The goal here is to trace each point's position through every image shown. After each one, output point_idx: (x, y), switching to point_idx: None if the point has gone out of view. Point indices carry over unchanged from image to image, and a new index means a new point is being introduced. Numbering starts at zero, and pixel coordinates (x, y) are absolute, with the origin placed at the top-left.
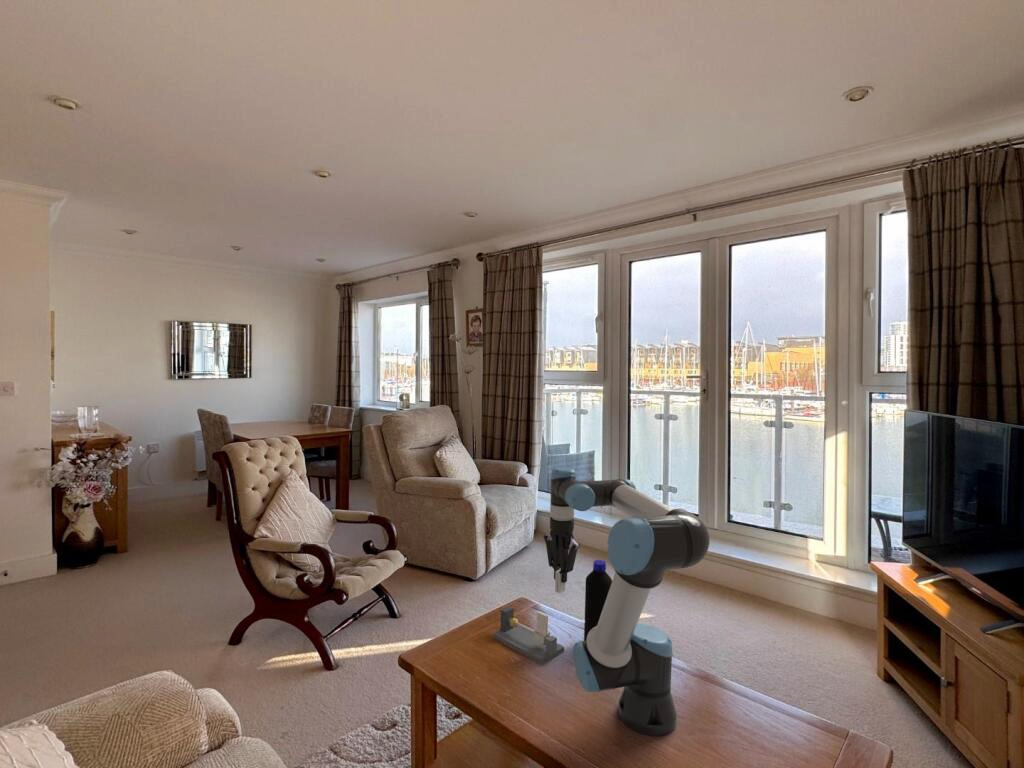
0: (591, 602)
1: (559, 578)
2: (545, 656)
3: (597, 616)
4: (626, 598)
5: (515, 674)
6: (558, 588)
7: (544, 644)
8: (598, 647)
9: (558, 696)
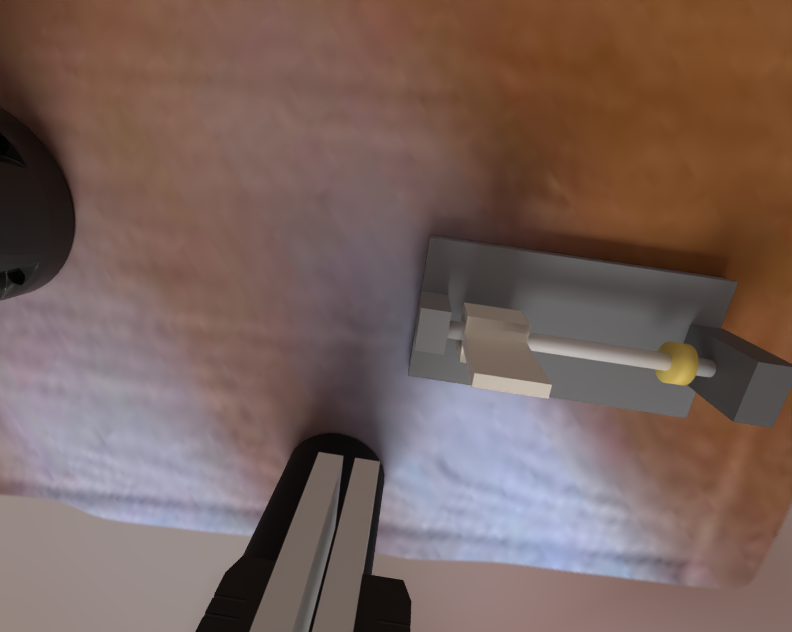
0: None
1: (275, 591)
2: (433, 270)
3: (270, 537)
4: None
5: (486, 100)
6: (326, 486)
7: (462, 311)
8: None
9: (261, 89)
